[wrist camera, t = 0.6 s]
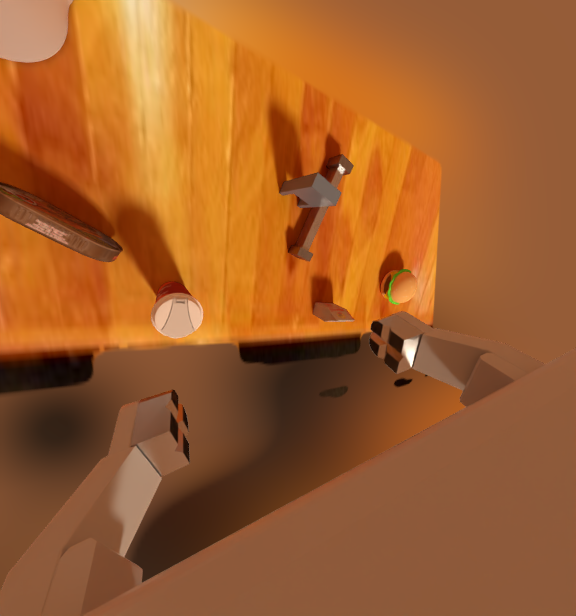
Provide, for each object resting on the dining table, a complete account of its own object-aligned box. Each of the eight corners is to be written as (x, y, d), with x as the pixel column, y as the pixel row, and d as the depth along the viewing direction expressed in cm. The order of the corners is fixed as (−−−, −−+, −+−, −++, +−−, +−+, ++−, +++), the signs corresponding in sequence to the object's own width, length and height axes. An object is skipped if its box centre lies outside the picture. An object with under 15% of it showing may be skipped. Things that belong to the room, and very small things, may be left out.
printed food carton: (330, 314, 72) (353, 327, 63) (312, 314, 68) (334, 327, 60) (333, 303, 71) (356, 314, 62) (315, 302, 67) (338, 313, 59)
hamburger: (383, 264, 76) (407, 269, 69) (405, 268, 82) (429, 273, 75) (373, 299, 79) (394, 307, 72) (394, 301, 85) (416, 308, 78)
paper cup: (152, 274, 45) (151, 293, 34) (194, 278, 49) (206, 296, 38) (150, 312, 47) (150, 342, 36) (191, 312, 51) (202, 340, 40)
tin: (126, 246, 42) (120, 251, 35) (116, 260, 42) (109, 269, 35) (12, 182, 33) (-25, 173, 26) (0, 200, 33) (-40, 196, 26)
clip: (279, 192, 52) (311, 186, 41) (284, 181, 52) (317, 172, 41) (300, 207, 56) (335, 205, 45) (305, 197, 55) (341, 192, 45)
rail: (300, 258, 60) (309, 261, 56) (288, 252, 58) (297, 254, 54) (340, 168, 57) (353, 165, 54) (329, 158, 55) (342, 154, 51)
